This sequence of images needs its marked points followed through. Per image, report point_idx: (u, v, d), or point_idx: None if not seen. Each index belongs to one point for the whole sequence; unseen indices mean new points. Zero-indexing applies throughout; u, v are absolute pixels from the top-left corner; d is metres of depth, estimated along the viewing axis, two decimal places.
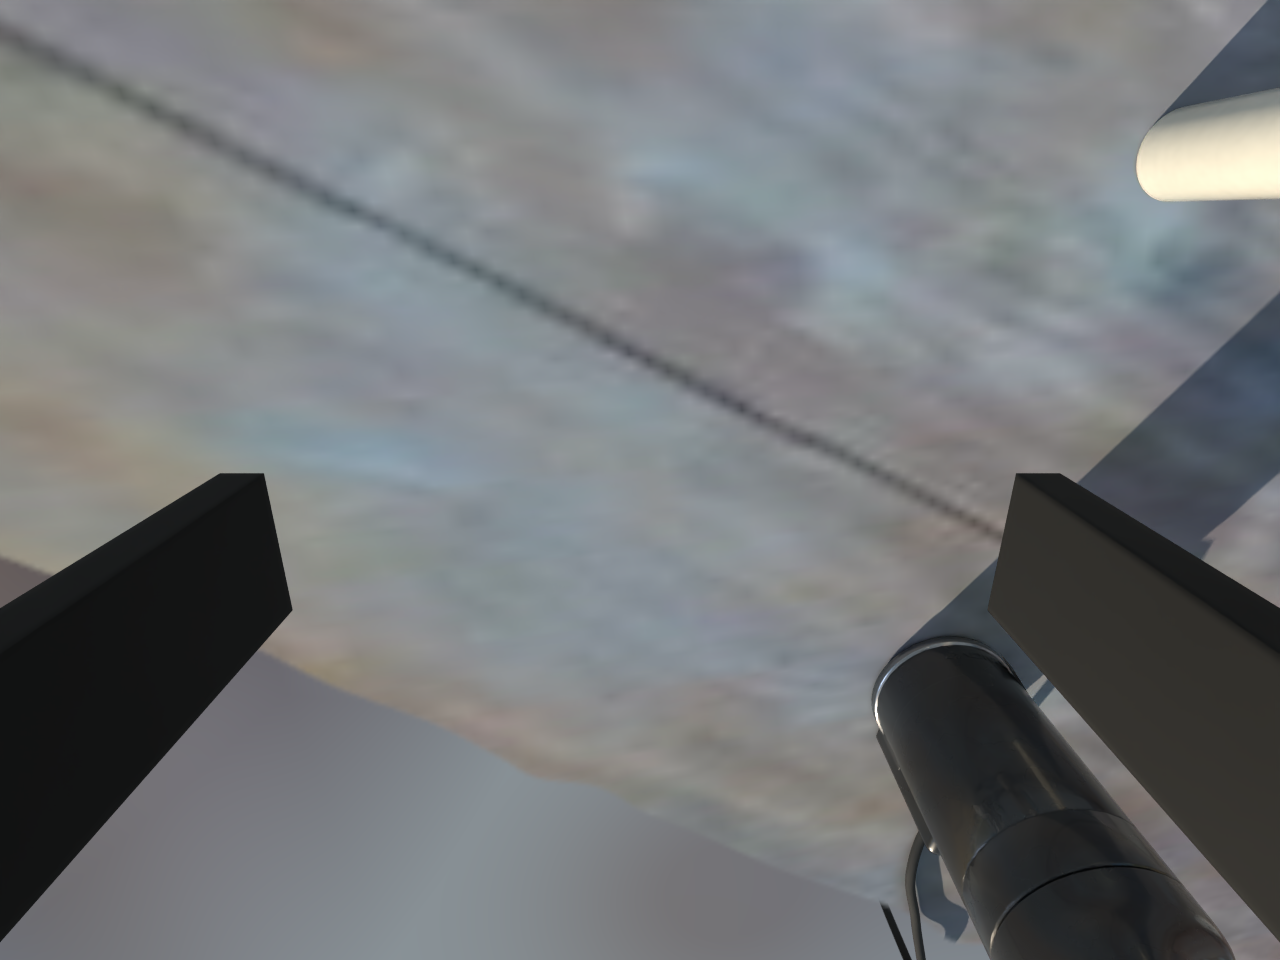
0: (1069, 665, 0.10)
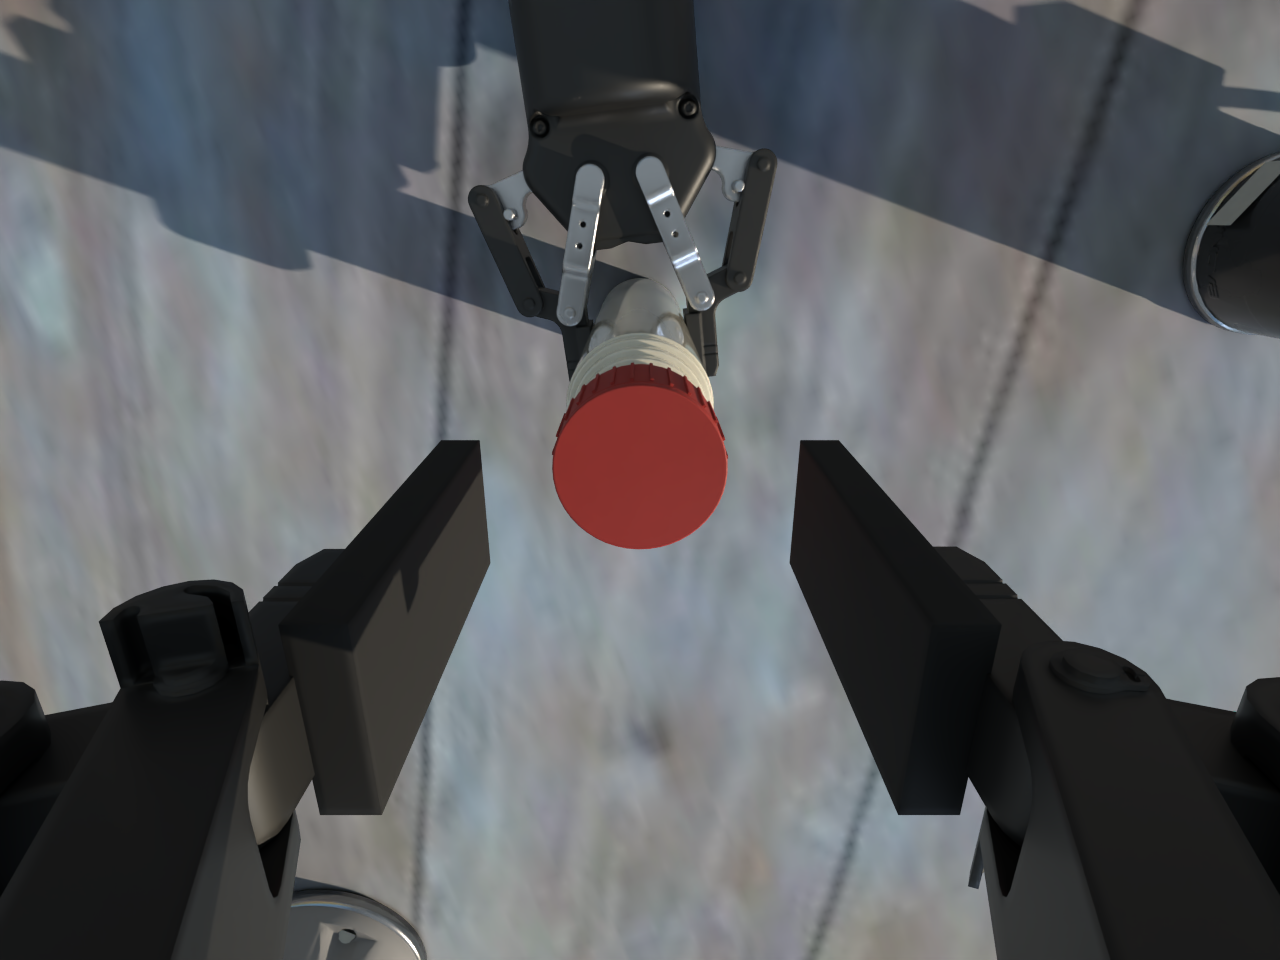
0: (820, 600, 0.12)
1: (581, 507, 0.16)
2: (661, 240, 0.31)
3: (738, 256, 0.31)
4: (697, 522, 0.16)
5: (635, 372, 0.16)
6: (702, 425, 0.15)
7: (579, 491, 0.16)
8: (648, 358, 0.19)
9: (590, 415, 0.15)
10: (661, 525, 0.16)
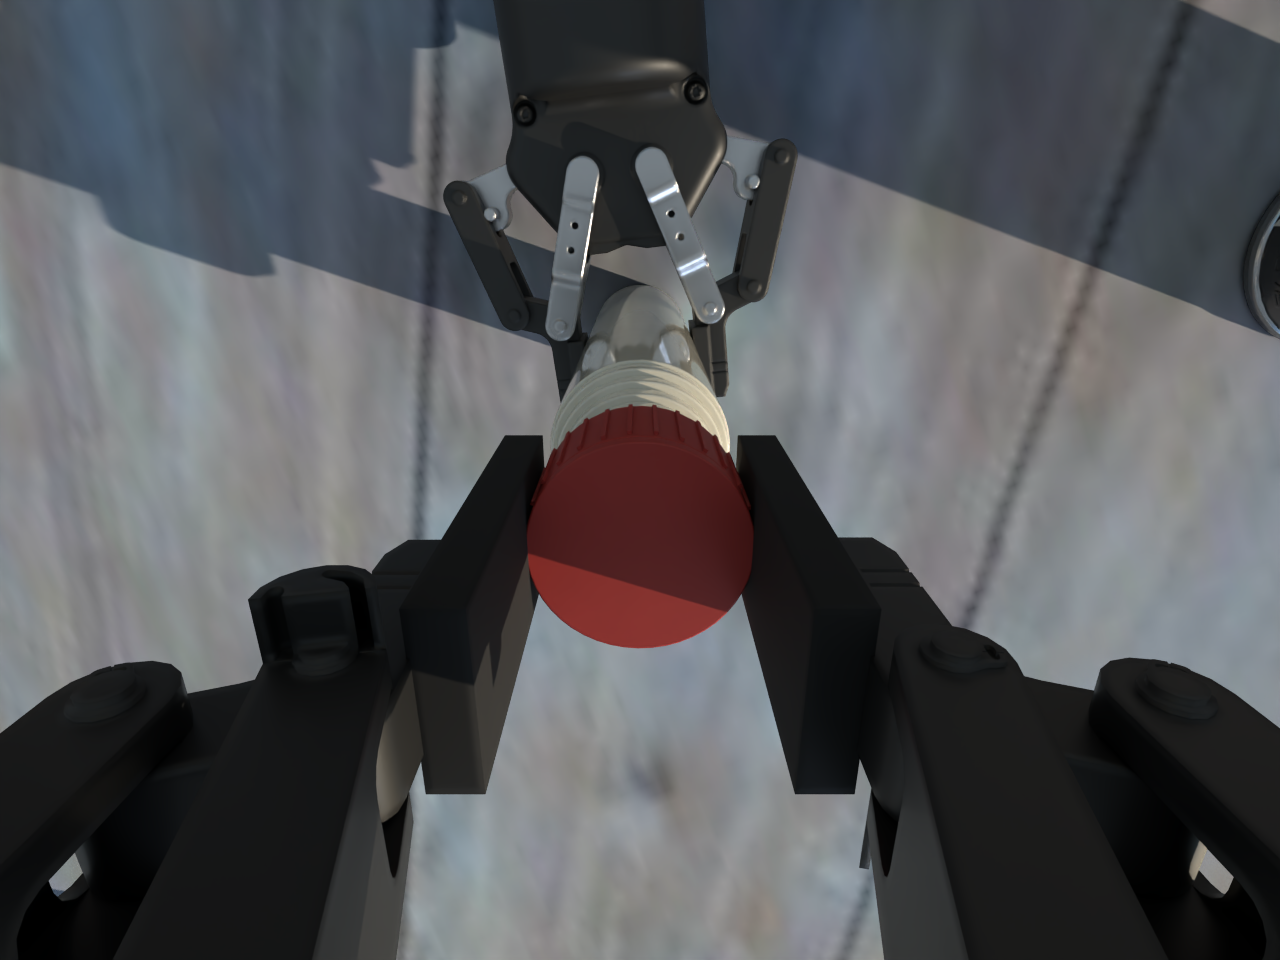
0: (749, 591, 0.12)
1: (563, 596, 0.12)
2: (664, 244, 0.27)
3: (752, 262, 0.27)
4: (715, 615, 0.12)
5: (634, 419, 0.12)
6: (723, 493, 0.12)
7: (561, 576, 0.12)
8: (650, 393, 0.15)
9: (574, 480, 0.11)
10: (668, 619, 0.12)
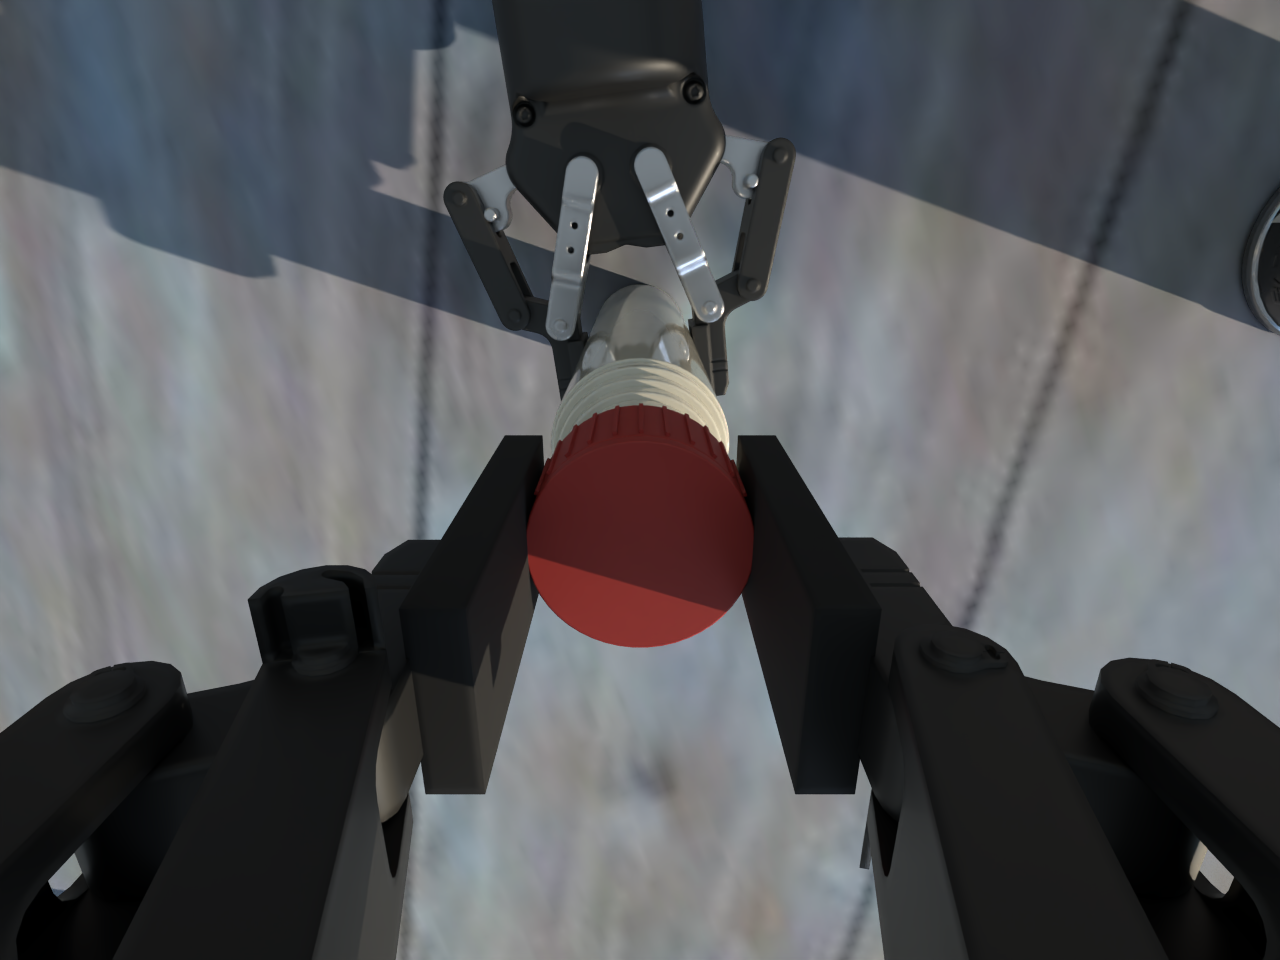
0: (749, 590, 0.12)
1: (713, 599, 0.12)
2: (663, 243, 0.27)
3: (751, 261, 0.27)
4: (685, 456, 0.11)
5: None
6: (551, 500, 0.12)
7: (693, 607, 0.12)
8: (650, 391, 0.15)
9: (592, 624, 0.12)
10: (705, 500, 0.12)
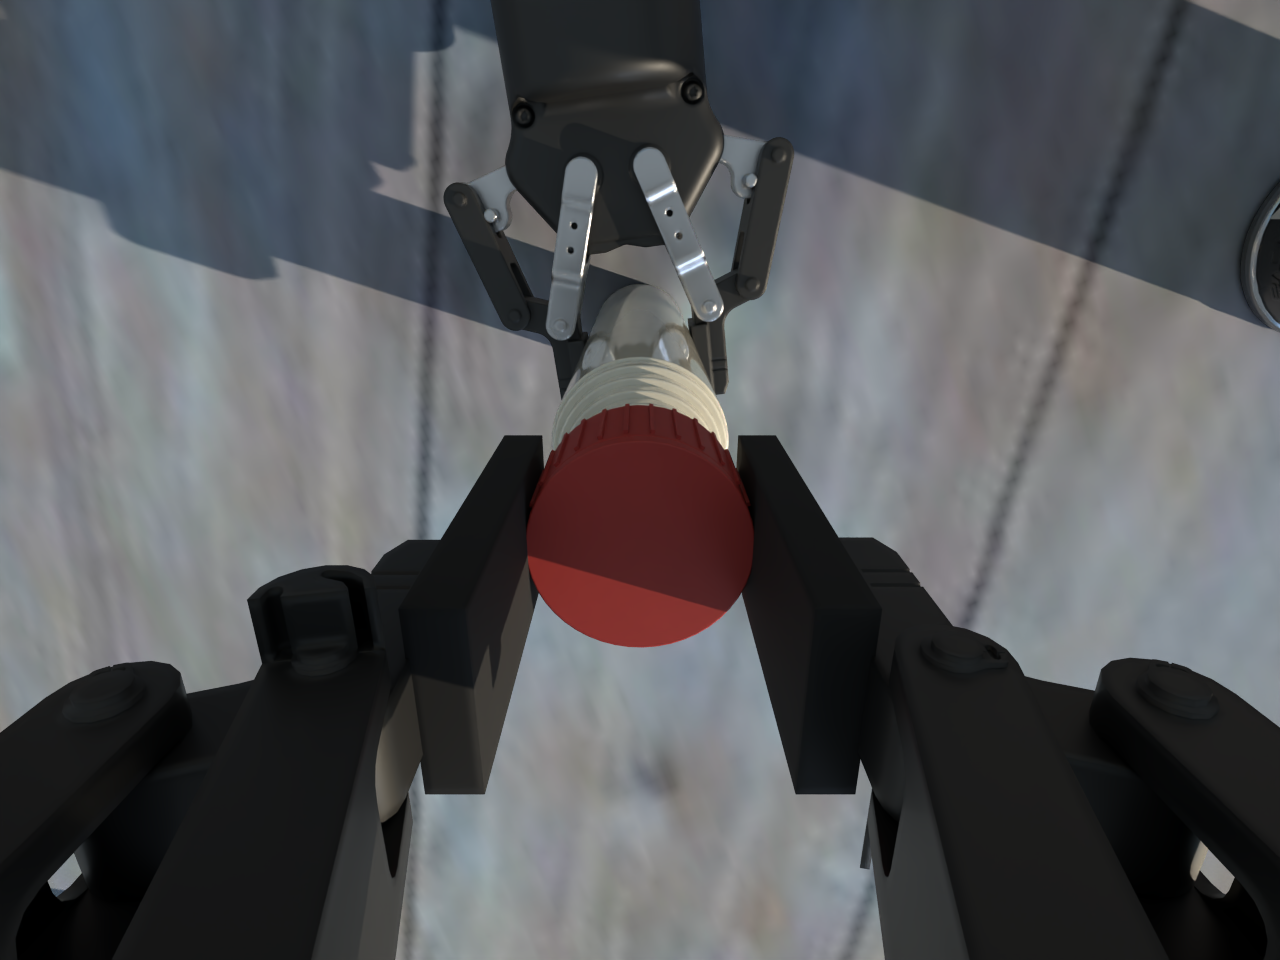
0: (749, 591, 0.12)
1: (667, 465, 0.11)
2: (663, 243, 0.27)
3: (750, 260, 0.27)
4: (532, 544, 0.12)
5: None
6: (620, 635, 0.13)
7: (684, 481, 0.11)
8: (649, 390, 0.15)
9: (736, 566, 0.12)
10: (565, 513, 0.12)
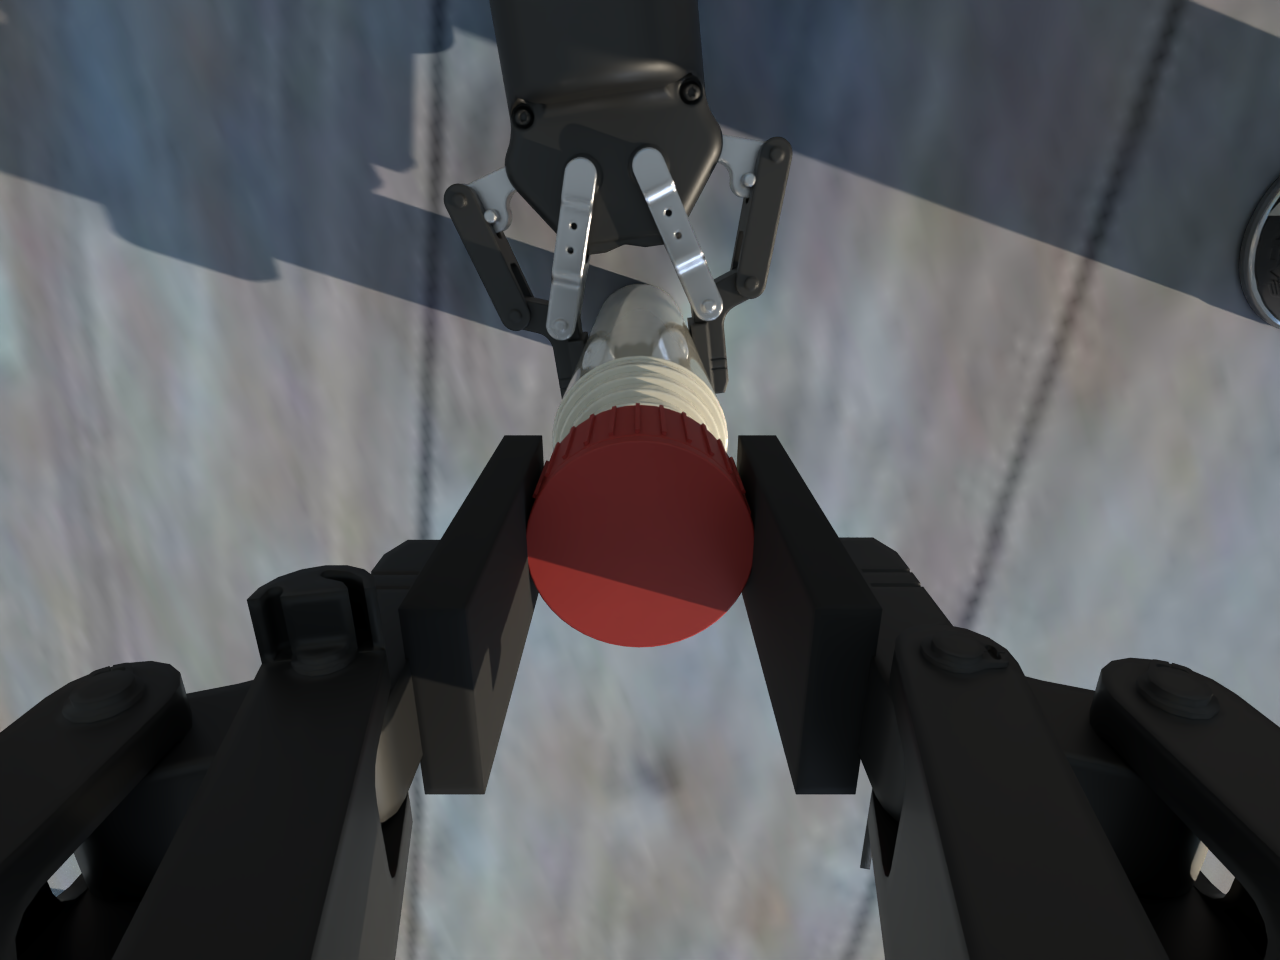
0: (749, 591, 0.12)
1: (546, 556, 0.12)
2: (662, 242, 0.27)
3: (749, 259, 0.27)
4: (669, 637, 0.13)
5: (689, 430, 0.13)
6: (741, 537, 0.12)
7: (555, 537, 0.12)
8: (649, 388, 0.16)
9: (621, 459, 0.11)
10: (627, 621, 0.12)
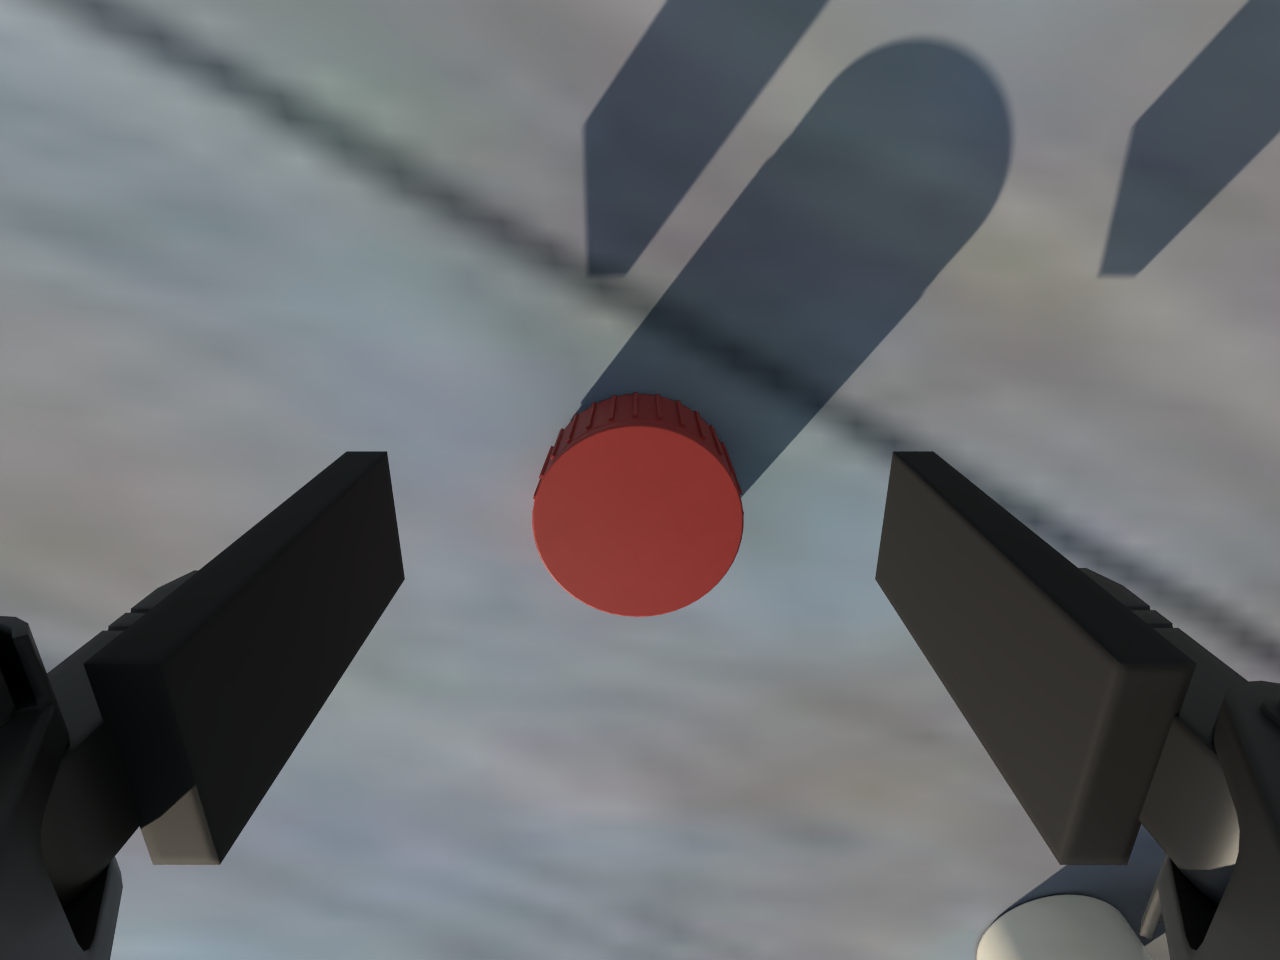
0: (925, 621, 0.11)
1: (552, 531, 0.13)
2: None
3: None
4: (665, 607, 0.14)
5: (683, 416, 0.14)
6: (730, 513, 0.13)
7: (560, 514, 0.13)
8: None
9: (620, 441, 0.12)
10: (626, 592, 0.14)
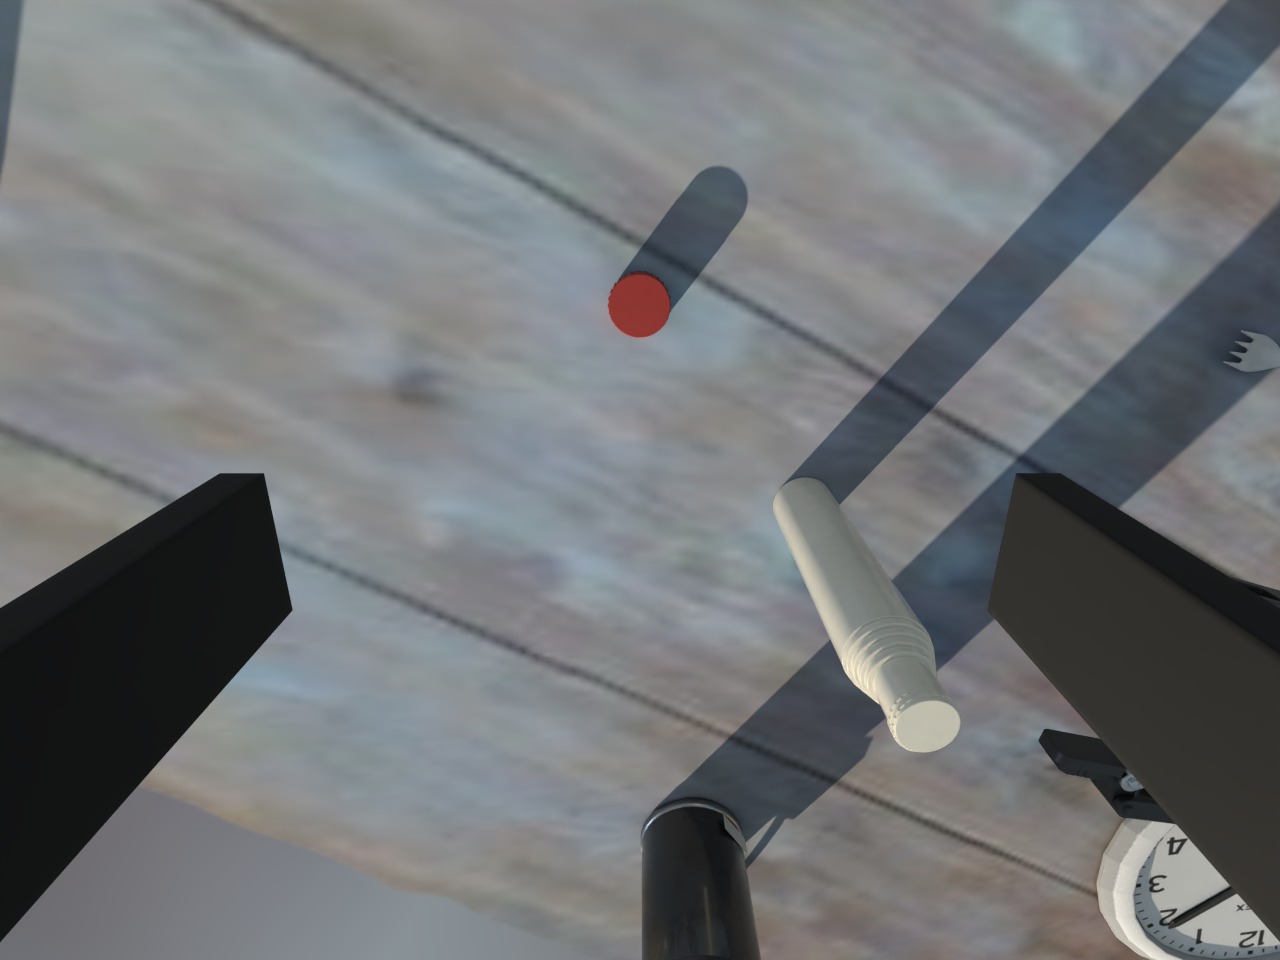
0: (1069, 664, 0.10)
1: (614, 308, 0.45)
2: None
3: (1145, 808, 0.38)
4: (647, 334, 0.45)
5: (652, 276, 0.45)
6: (666, 302, 0.45)
7: (616, 302, 0.45)
8: None
9: (634, 279, 0.44)
10: (635, 328, 0.45)
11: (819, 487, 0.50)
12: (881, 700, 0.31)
